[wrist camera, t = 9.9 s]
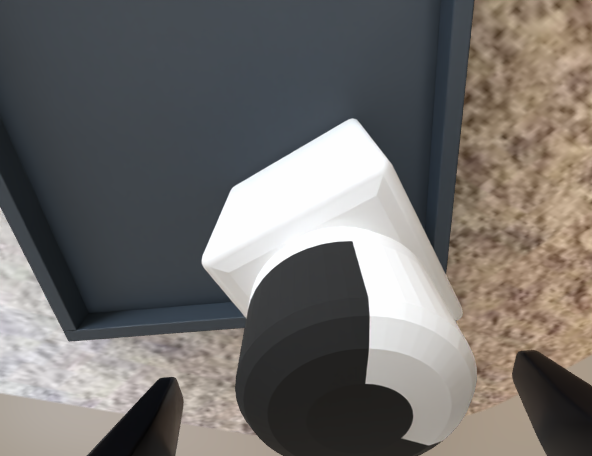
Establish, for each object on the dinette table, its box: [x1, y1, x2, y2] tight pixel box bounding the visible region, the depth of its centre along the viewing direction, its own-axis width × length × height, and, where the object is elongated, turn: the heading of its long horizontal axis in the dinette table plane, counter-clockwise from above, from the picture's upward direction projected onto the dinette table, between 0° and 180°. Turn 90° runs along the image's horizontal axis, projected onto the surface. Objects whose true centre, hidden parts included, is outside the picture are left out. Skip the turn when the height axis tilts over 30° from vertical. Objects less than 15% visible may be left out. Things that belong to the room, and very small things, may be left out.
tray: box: [0, 0, 474, 341], centre depth 16 cm, size 26×22×2 cm
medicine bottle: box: [202, 118, 477, 456], centre depth 14 cm, size 7×7×12 cm
